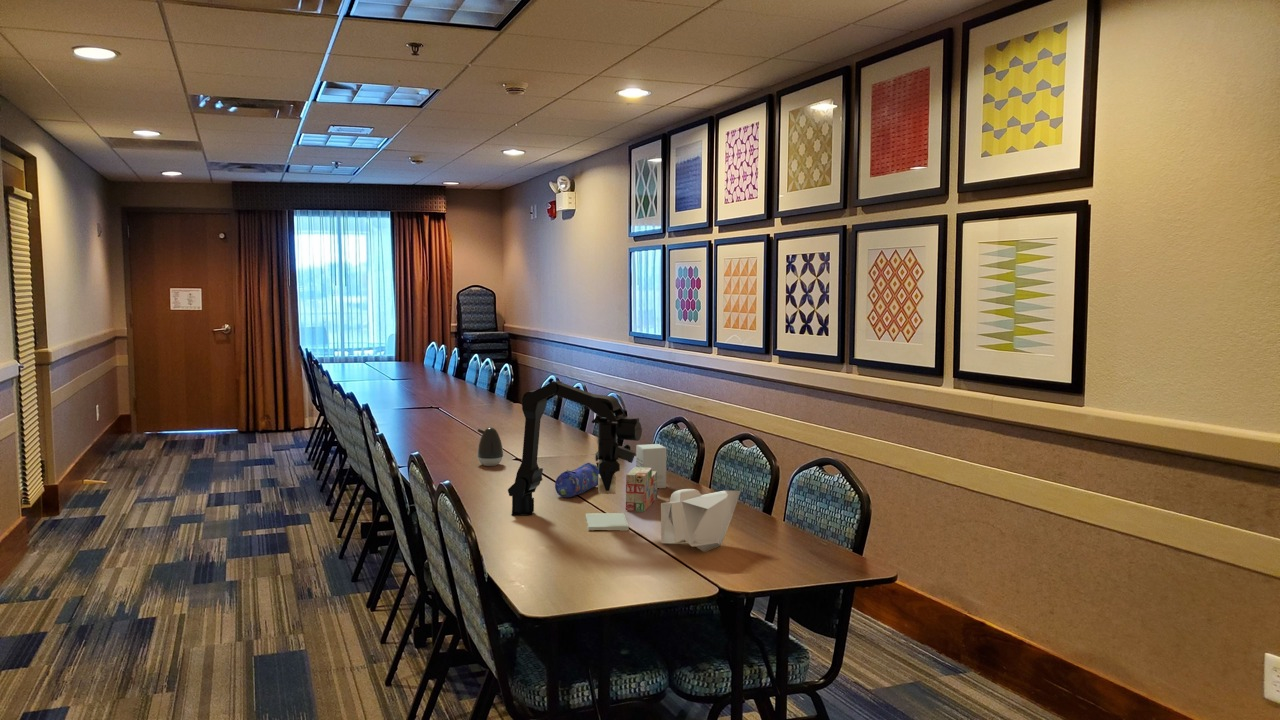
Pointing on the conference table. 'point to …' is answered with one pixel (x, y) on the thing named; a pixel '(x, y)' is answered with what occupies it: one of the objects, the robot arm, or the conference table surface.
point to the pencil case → (577, 480)
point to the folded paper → (697, 517)
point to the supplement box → (653, 460)
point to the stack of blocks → (640, 488)
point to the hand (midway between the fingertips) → (606, 488)
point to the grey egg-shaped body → (490, 447)
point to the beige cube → (602, 488)
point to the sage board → (606, 521)
